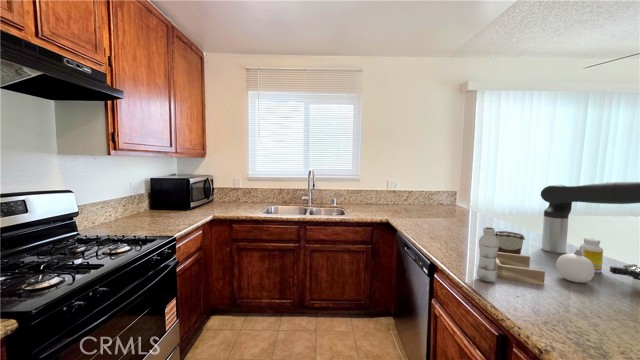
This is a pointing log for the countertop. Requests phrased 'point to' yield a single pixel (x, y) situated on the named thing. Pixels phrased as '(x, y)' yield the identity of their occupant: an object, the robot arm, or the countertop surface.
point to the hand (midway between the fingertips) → (611, 269)
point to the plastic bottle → (488, 255)
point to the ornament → (575, 267)
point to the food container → (509, 242)
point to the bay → (518, 269)
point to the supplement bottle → (593, 252)
